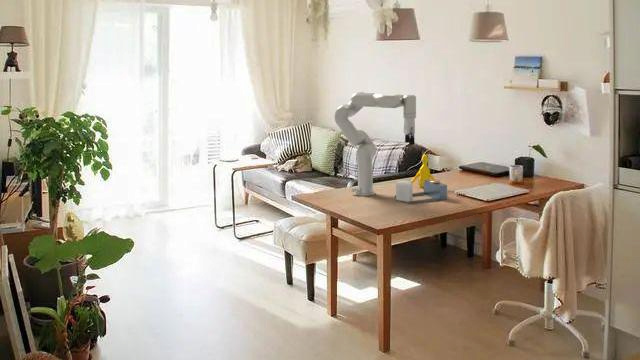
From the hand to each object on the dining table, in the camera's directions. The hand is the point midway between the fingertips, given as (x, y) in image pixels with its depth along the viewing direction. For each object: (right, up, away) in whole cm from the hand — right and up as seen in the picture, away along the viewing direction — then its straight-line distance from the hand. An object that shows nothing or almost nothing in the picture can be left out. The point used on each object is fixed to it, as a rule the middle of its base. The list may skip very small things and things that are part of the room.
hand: (409, 143), depth 356 cm
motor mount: (+7, -34, +1) cm, 34 cm away
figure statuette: (+15, -27, +33) cm, 45 cm away
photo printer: (-4, -35, -3) cm, 35 cm away
